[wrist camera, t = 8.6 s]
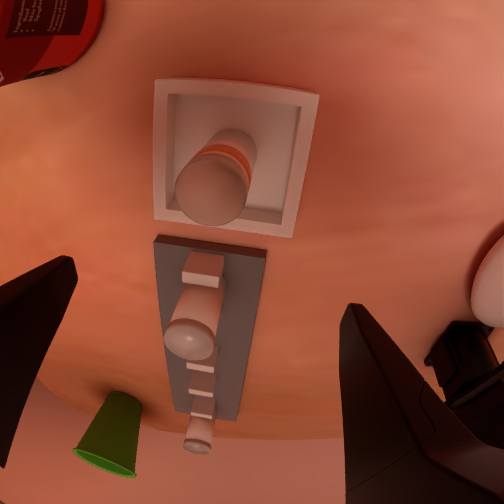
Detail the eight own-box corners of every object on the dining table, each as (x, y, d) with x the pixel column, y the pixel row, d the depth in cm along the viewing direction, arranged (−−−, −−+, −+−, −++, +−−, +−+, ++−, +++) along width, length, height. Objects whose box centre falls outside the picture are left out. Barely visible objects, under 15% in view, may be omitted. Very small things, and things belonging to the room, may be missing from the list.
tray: (314, 91, 16) (319, 94, 14) (291, 219, 21) (292, 238, 19) (169, 76, 16) (155, 79, 14) (166, 202, 21) (154, 219, 19)
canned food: (11, 49, 14) (-102, 80, 5) (63, -39, 11) (-53, -54, 1) (65, 93, 17) (-60, 142, 8) (129, -4, 13) (1, -31, 4)
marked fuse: (260, 130, 17) (250, 163, 12) (254, 180, 19) (243, 230, 14) (207, 125, 17) (174, 155, 12) (204, 174, 19) (174, 221, 14)
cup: (167, 412, 39) (149, 480, 30) (131, 417, 42) (112, 475, 33) (119, 378, 35) (92, 451, 26) (87, 387, 39) (62, 448, 29)
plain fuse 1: (228, 270, 22) (213, 333, 17) (225, 301, 24) (212, 363, 19) (186, 263, 22) (161, 323, 17) (186, 295, 24) (165, 354, 19)
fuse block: (266, 250, 22) (263, 280, 20) (236, 415, 37) (233, 437, 34) (158, 234, 22) (141, 261, 20) (176, 404, 37) (171, 426, 34)
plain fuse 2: (218, 403, 34) (210, 447, 29) (217, 414, 35) (210, 455, 30) (192, 398, 34) (182, 442, 29) (193, 409, 35) (183, 451, 30)
